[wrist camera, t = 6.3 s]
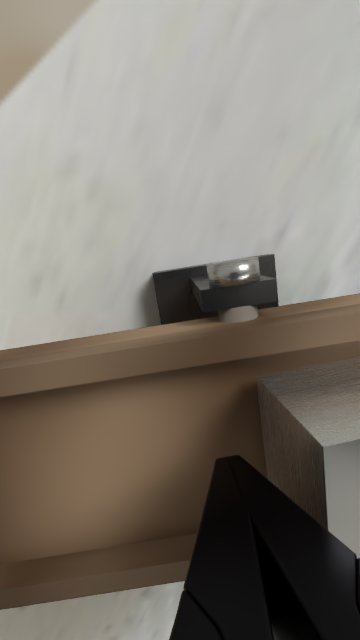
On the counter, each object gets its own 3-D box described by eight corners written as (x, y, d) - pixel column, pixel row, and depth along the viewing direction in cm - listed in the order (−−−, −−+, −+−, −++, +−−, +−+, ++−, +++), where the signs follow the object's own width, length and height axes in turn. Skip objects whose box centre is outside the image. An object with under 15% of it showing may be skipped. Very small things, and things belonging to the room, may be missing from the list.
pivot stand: (266, 250, 13) (336, 245, 7) (284, 455, 15) (349, 571, 10) (153, 267, 13) (139, 277, 7) (188, 470, 15) (197, 594, 10)
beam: (440, 256, 11) (631, 256, 7) (433, 440, 13) (581, 544, 8) (-1, 326, 11) (-122, 376, 7) (50, 501, 13) (-17, 639, 8)
